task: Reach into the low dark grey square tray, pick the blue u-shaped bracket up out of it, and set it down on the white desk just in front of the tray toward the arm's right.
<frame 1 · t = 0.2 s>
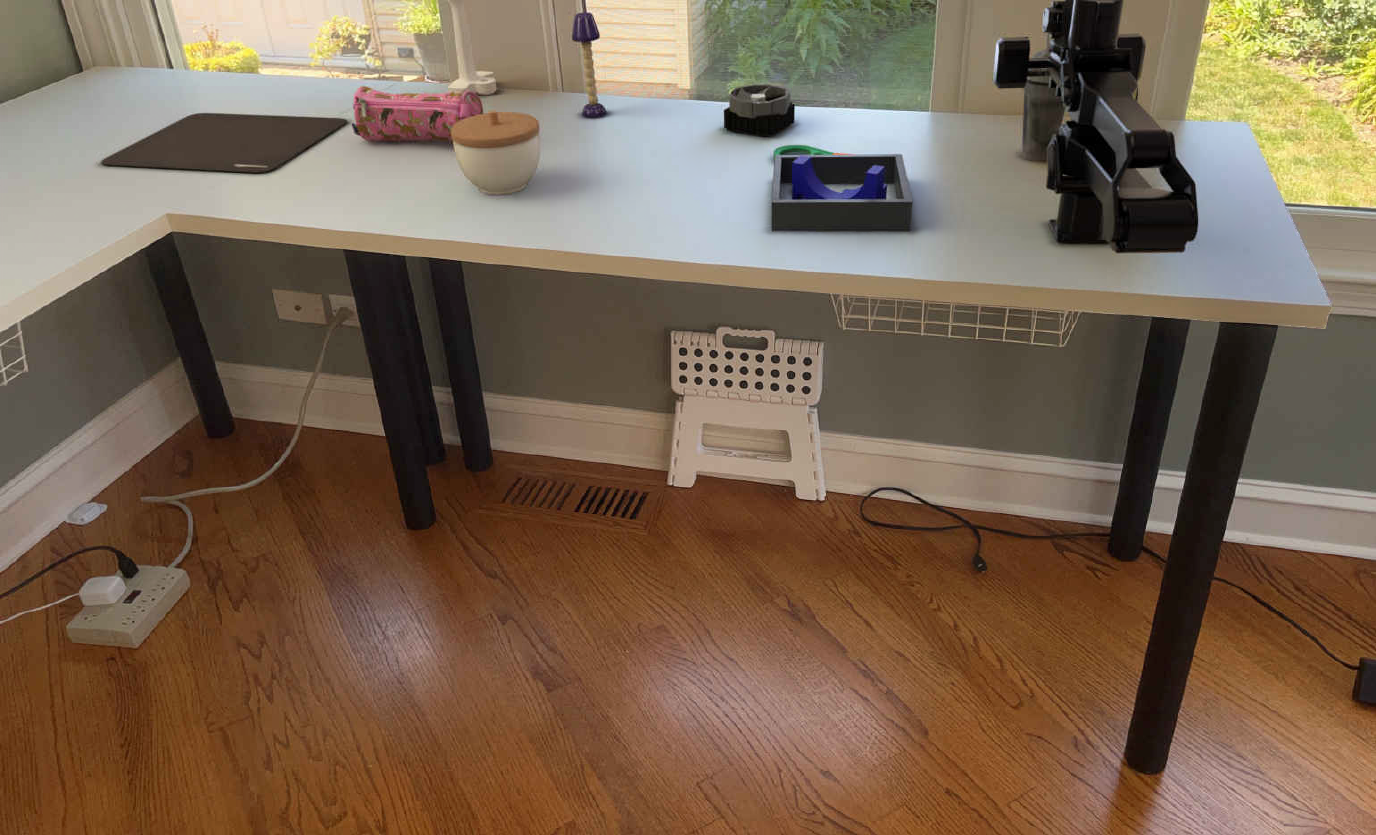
hand: (1054, 47, 152), 17 cm above the table, tool horizontal, fingers open, 9 cm apart
lidded bowl: (503, 187, 163), on the table
mouse pad: (228, 142, 185), on the table
blue u-shaped bracket: (838, 206, 151), resting in dark grey square tray
dark grey square tray: (838, 205, 151), on the table
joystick: (477, 93, 205), on the table
pencil case: (423, 143, 181), on the table
cpu cooler: (759, 128, 181), on the table
beverage cup: (1037, 157, 164), on the table
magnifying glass: (822, 163, 166), on the table
toy lamp: (593, 115, 191), on the table
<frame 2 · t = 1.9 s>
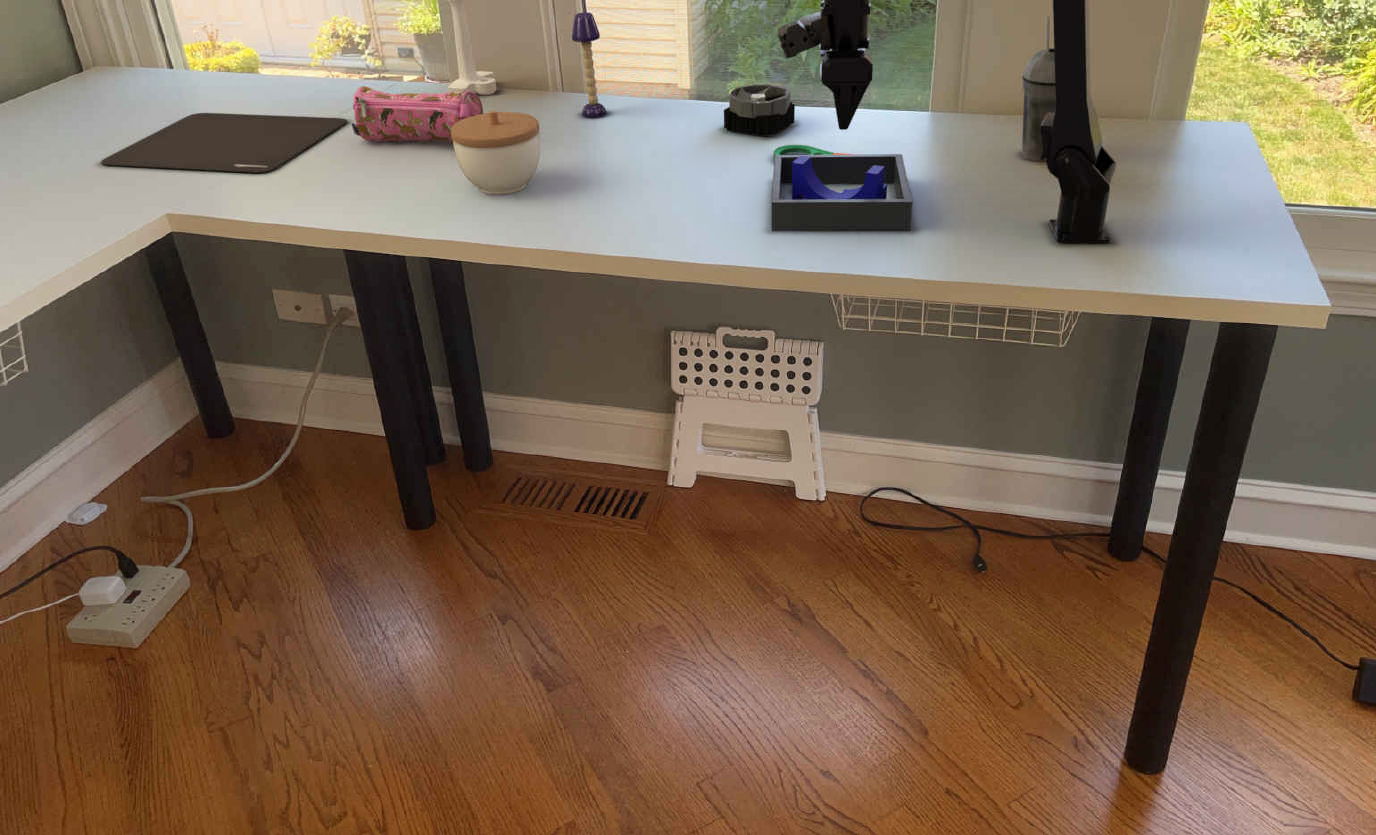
hand: (842, 118, 145), 12 cm above the table, tool pointing down, fingers open, 9 cm apart
nothing on the table moved.
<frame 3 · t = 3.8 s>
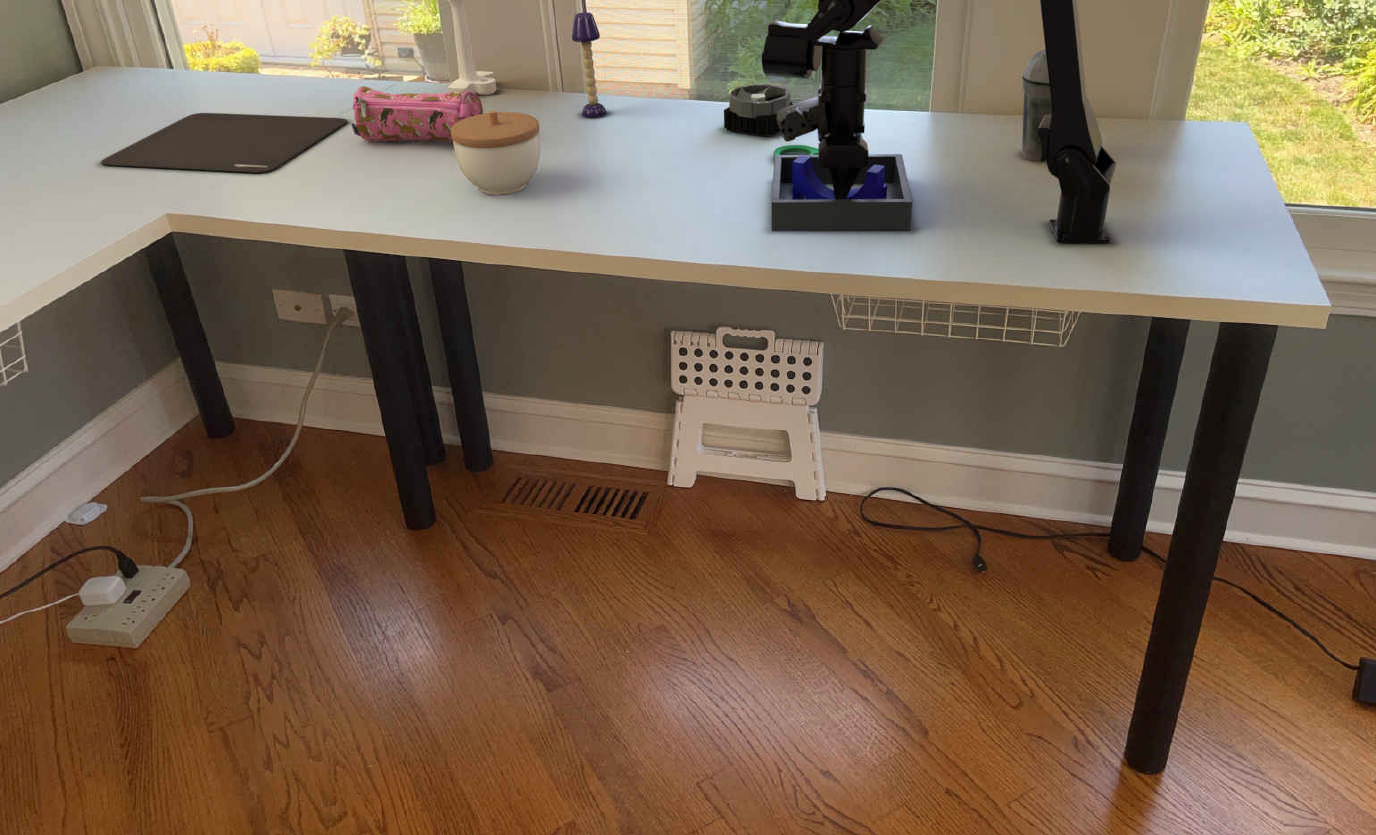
hand: (839, 196, 150), 1 cm above the table, tool pointing down, fingers closed on blue u-shaped bracket, 5 cm apart
blue u-shaped bracket: (838, 206, 151), resting in dark grey square tray, touching gripper
everything else where it was.
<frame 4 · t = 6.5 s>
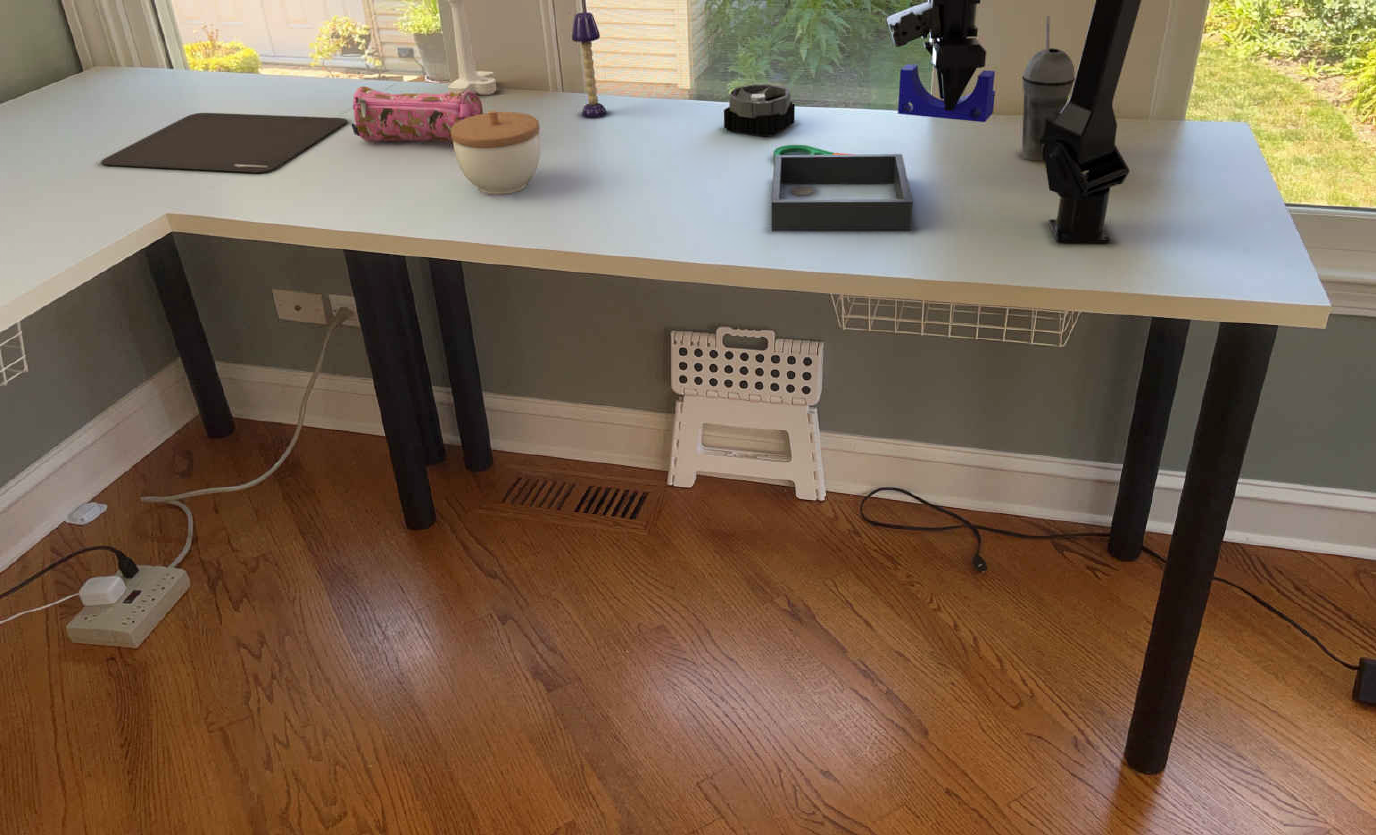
hand: (946, 104, 150), 11 cm above the table, tool pointing down, fingers closed on blue u-shaped bracket, 5 cm apart
blue u-shaped bracket: (945, 114, 152), point 10 cm above the table, touching gripper
everything else where it was.
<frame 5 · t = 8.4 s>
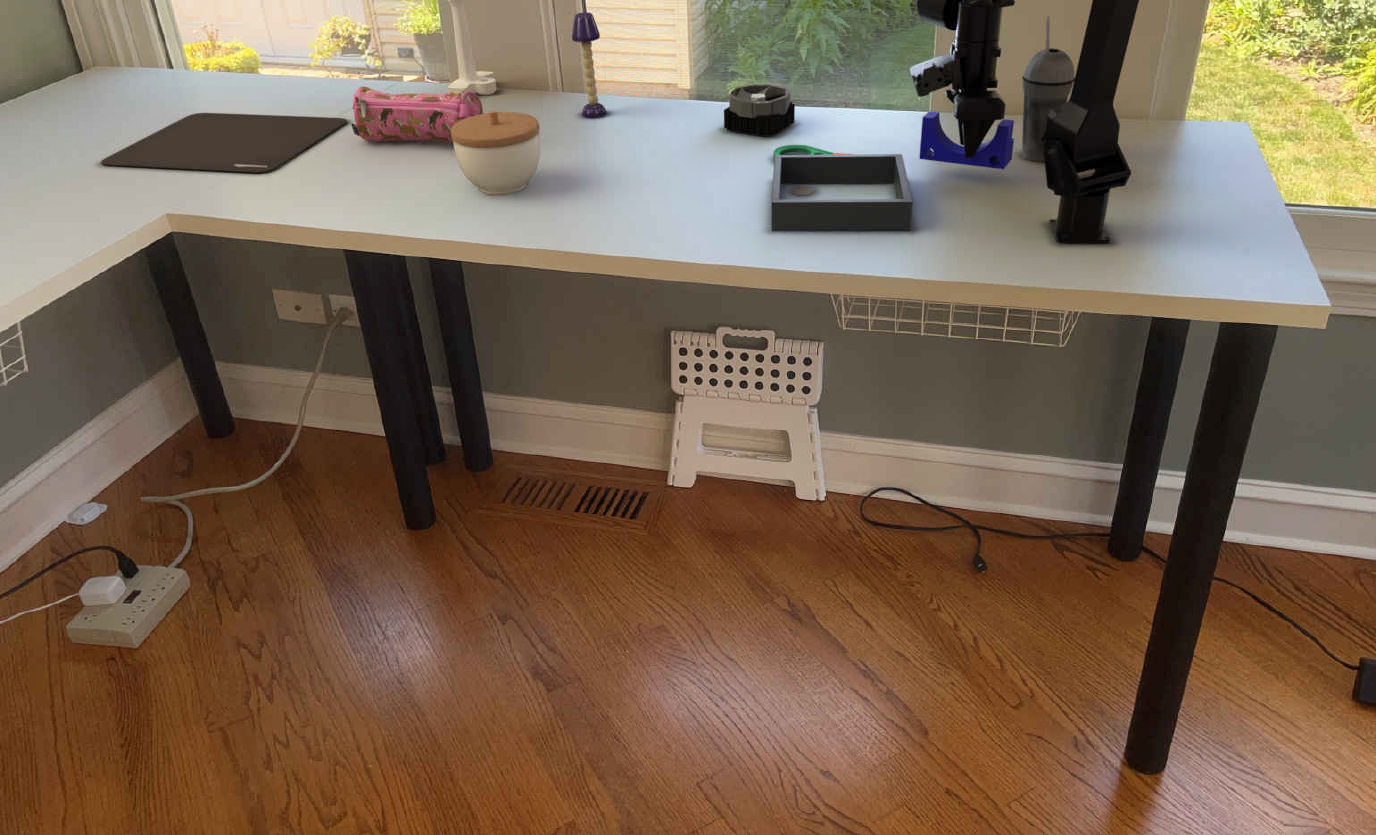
hand: (966, 151, 156), 4 cm above the table, tool pointing down, fingers closed on blue u-shaped bracket, 5 cm apart
blue u-shaped bracket: (965, 160, 157), point 3 cm above the table, touching gripper
everything else where it was.
when the fingers open (1 cm above the table, at t = 9.6 s): blue u-shaped bracket stays where it is, on the table.
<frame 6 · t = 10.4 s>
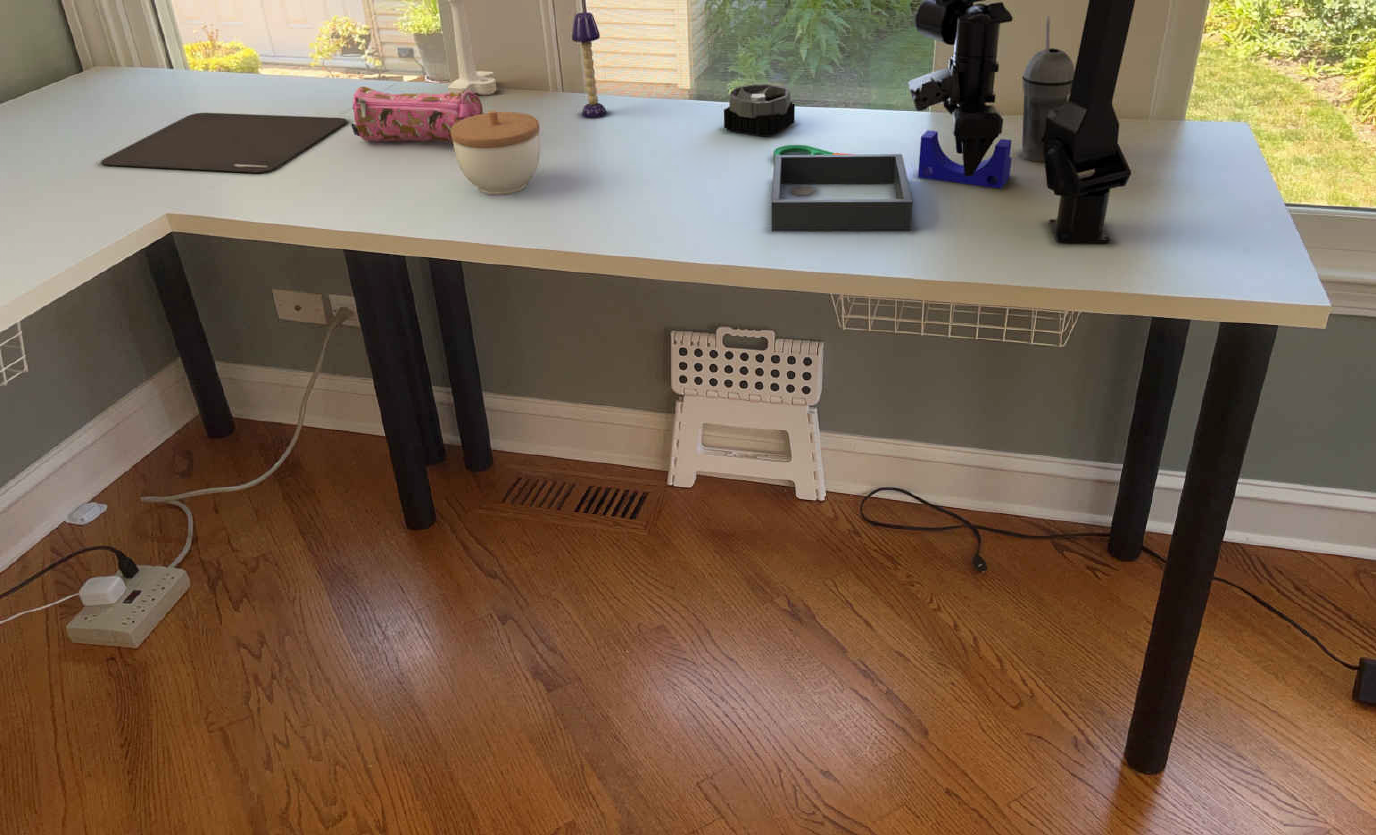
hand: (964, 164, 157), 2 cm above the table, tool pointing down, fingers open, 9 cm apart
blue u-shaped bracket: (963, 179, 158), on the table
everything else where it was.
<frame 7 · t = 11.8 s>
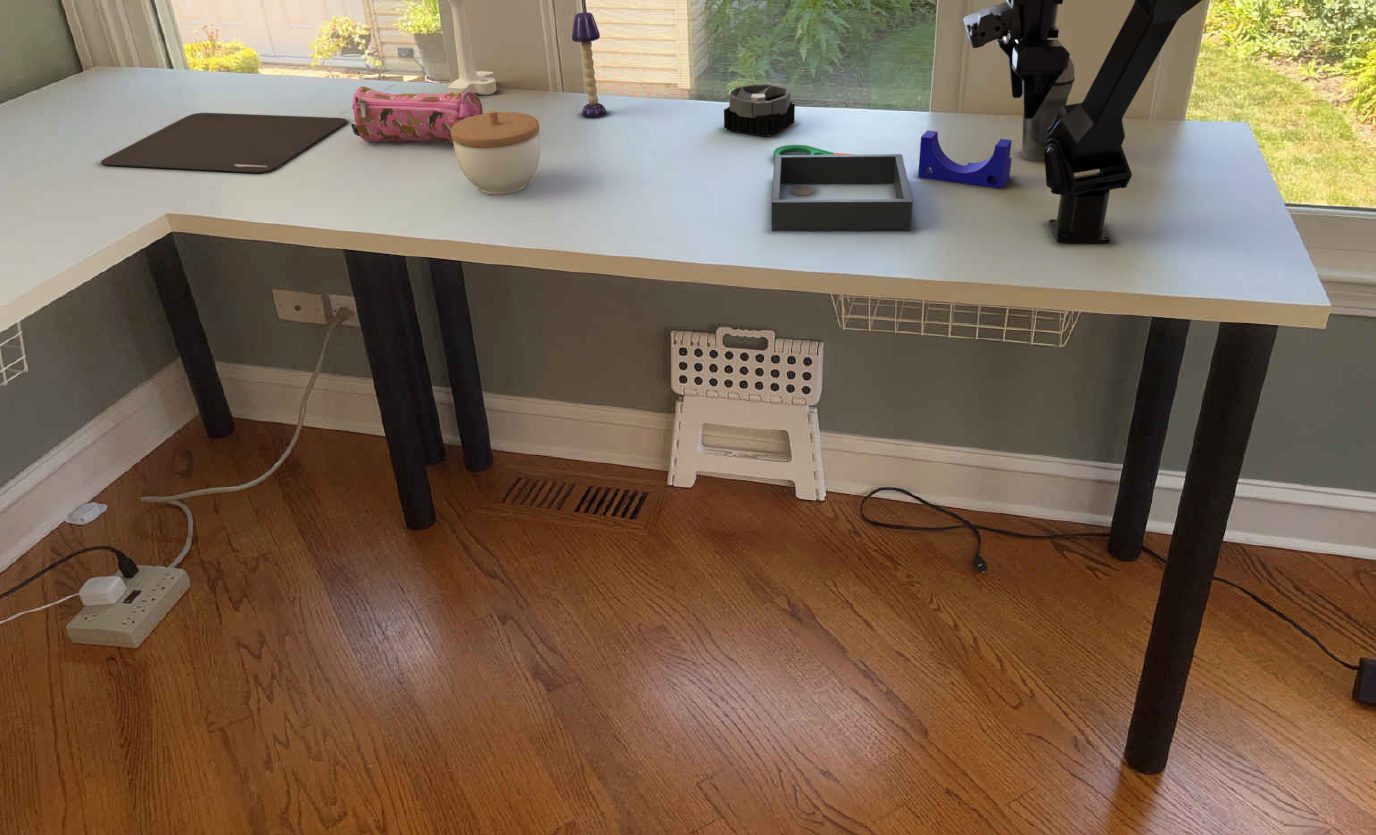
hand: (1022, 107, 146), 12 cm above the table, tool pointing down, fingers open, 9 cm apart
nothing on the table moved.
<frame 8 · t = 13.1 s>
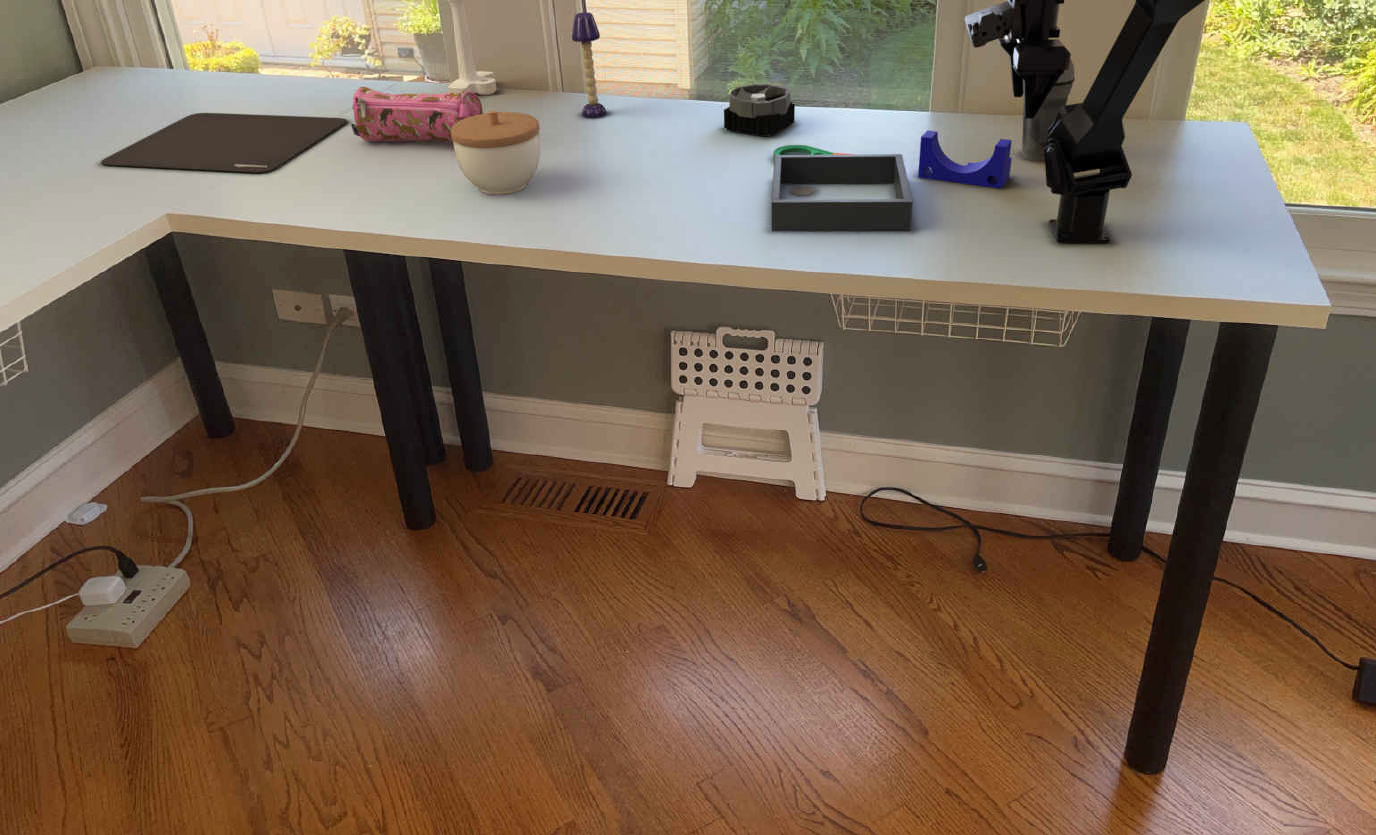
hand: (1023, 107, 146), 12 cm above the table, tool pointing down, fingers open, 9 cm apart
nothing on the table moved.
at the end: blue u-shaped bracket inside the target area (0.2 cm from its centre), on the table; blue u-shaped bracket touching table; the gripper is holding nothing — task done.
